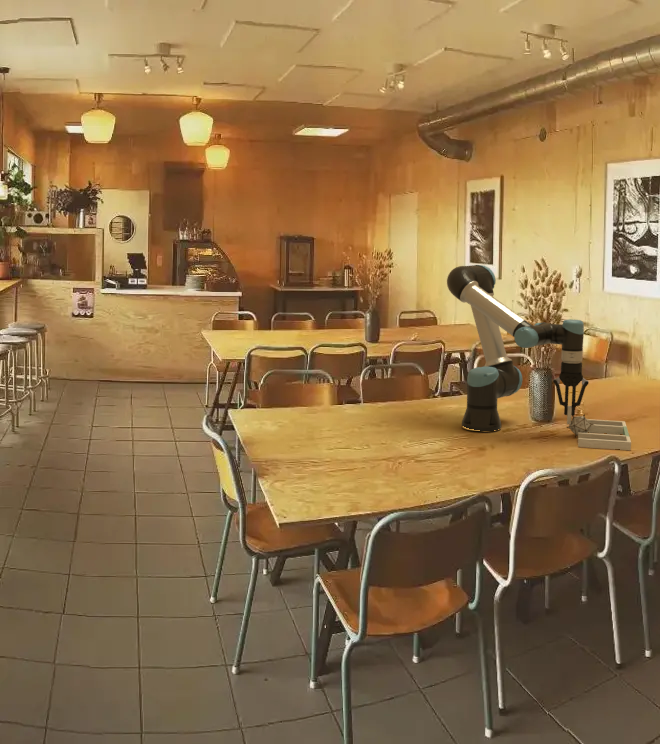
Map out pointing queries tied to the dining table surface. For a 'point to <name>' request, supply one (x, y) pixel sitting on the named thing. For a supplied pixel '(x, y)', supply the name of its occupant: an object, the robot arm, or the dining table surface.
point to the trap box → (605, 435)
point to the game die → (579, 425)
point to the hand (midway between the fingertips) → (568, 423)
